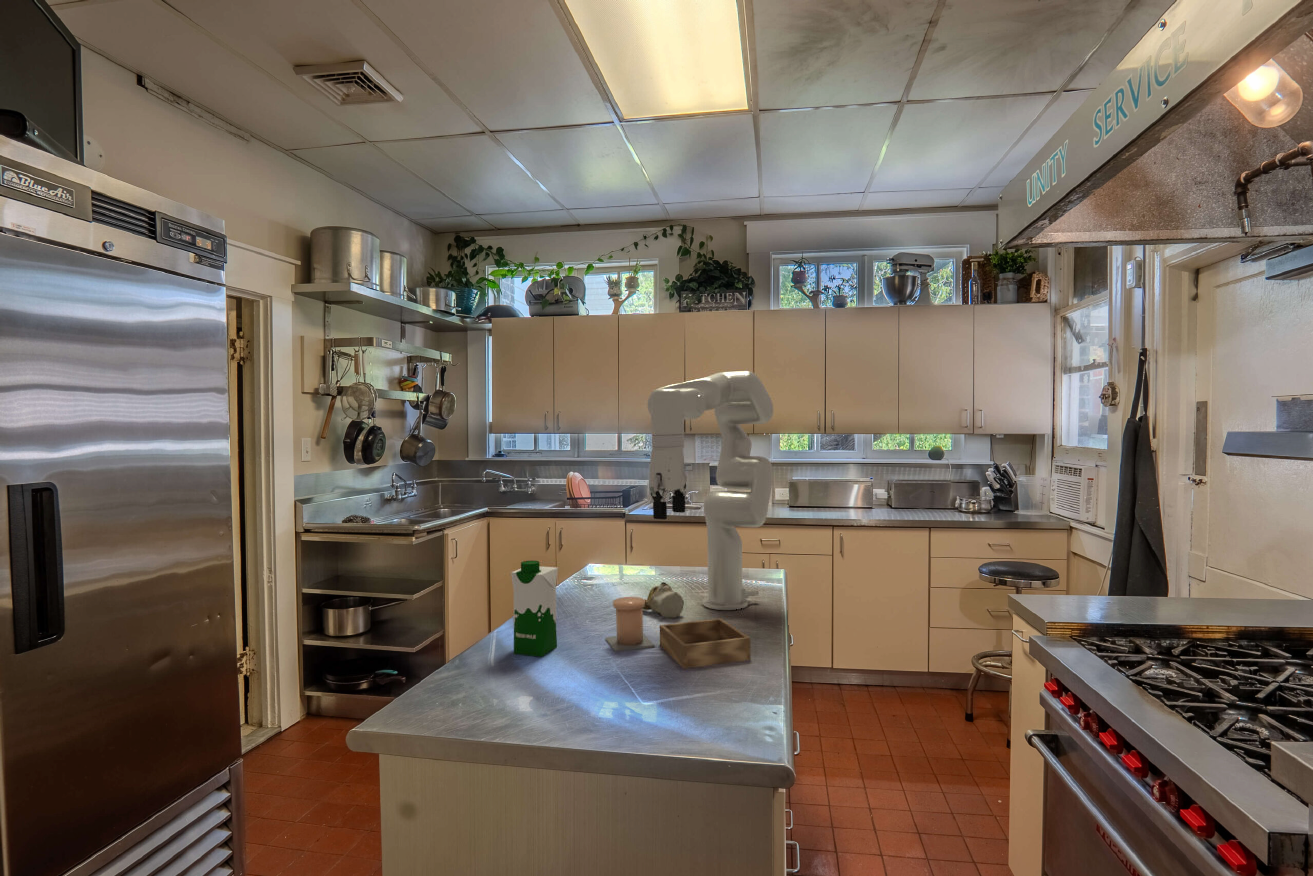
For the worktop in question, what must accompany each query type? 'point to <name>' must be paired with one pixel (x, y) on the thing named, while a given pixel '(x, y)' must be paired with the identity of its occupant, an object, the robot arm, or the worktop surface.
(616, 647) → the slate tile
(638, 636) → the terracotta pot
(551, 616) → the milk carton
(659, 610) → the ceramic sculpture
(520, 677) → the worktop surface
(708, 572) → the robot arm
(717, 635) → the open wooden box
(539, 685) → the worktop surface
